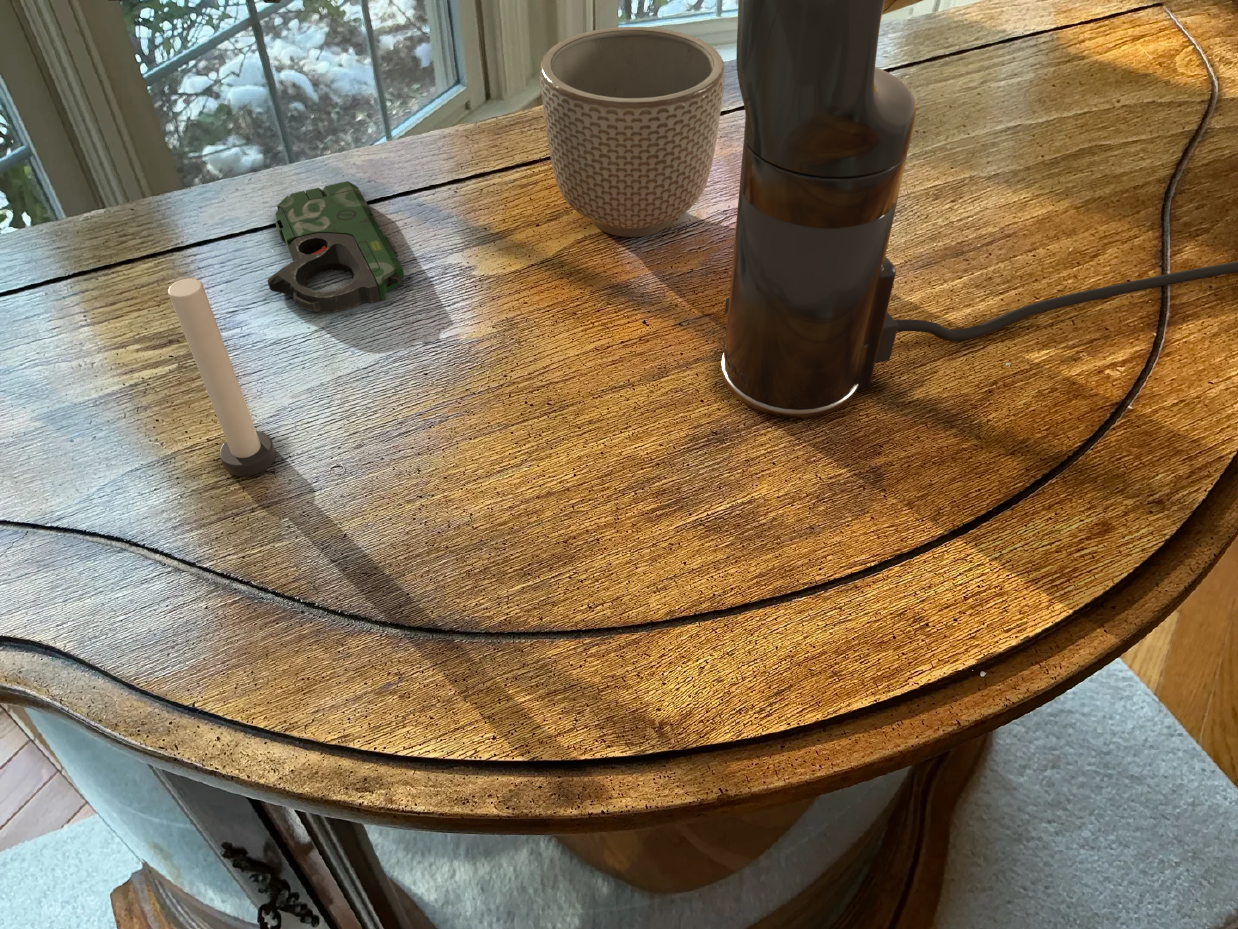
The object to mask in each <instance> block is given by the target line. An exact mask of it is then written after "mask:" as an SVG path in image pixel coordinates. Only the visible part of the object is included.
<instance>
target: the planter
mask: <svg viewBox="0 0 1238 929" xmlns="http://www.w3.org/2000/svg"><path fill="white" fill-rule="evenodd" d="M539 68H540V70H539V82H540V84H539V85H540V93H541V101H542V109H543V116H544V124H545V133H546V139H547V144H548V151H549V157H550V163H551V168H552V172H553V176H554V179H555V180H554V181H555V183H556V186H557V188H558V190H559V192H560V194H561V196H562V197H563V199H564V200H565V202H566V203H567V204H568V205H569V206H570V207H571V208H572V209H573V210H574V211H575V212H576V213H578V214H580V215H581V216H582V217H584V218H586V219H588V220H589V221H590V222H591V223H592V224H593V226H595V227H596V228H597V229H599V230H600V231H602V232H604V233H606V234H609V235H612V236H616V237H620V238H642V237H647V236H651V235H654V234H657V233H659V232H662V231H664V230H665V229H666V228H667V227H668V226H669V225H670V224H671V223H672V222H673V221H674V220H676V219H677V218H679V217H681V216H682V215H684V214H685V213H686V212H688V211H689V210H690V209H692V208H693V206H695V204H696V203H697V202H698V201H699V200H700V198H701V196H702V195H703V193H704V191H705V189H706V187H707V184H708V181H709V177H710V174H711V171H712V167H713V162H714V156H715V151H716V146H717V139H718V135H719V128H720V127H719V126H720V119H721V112H722V104H723V98H724V90H725V81H726V78H725V76H726V75H725V61H724V59H723V57H722V55H721V54H720V53H719V51H718V50H717V49H716V48H714V47H713V46H712V45H711V44H709V43H708V42H705V41H704V40H703V39H700V38H698V37H695V36H693V35H691V34H688V33H683V32H680V31H677V30H671V29H667V28H658V27H651V26H650V27H649V26H648V27H647V26H616V27H615V26H614V27H607V28H606V27H605V28H599V29H593V30H589V31H584V32H581V33H578V34H574V35H572V36H569V37H567V38H564V39H563V40H560V41H559V42H557V43H556V44H555V45H553V46H551V48H549V50H547V51H546V52H545V54H544V55H543V57H542V59H541V62H540V67H539Z"/></svg>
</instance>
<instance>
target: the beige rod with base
mask: <svg viewBox="0 0 1238 929" xmlns="http://www.w3.org/2000/svg"><path fill="white" fill-rule="evenodd" d="M167 295H168V296H169V299H170V302H171V304H172V306H173V309H174V311H175V314H176V317H177V319H178V322H179V324H180V328H181V330H182V332H183V335H184V337H185V341H186V342H187V345H188V347H189V350H190V352H191V354H192V358H193V360H194V362H195V365H196V367H197V371H198V372H199V375H200V378H201V380H202V383H203V385H204V388H205V390H206V392H207V395H208V398H209V400H210V402H211V405H212V408H213V410H214V413H215V415H216V418H217V420H218V423H219V426H220V428H221V430H222V433H223V436H224V438H225V441H224V442H223V443H222V445H221V446H220V450H219V459H220V461H221V463H222V466H223V468H224V469H225V471H226V472H227V473H229V474H230V475H232V476H235V477H244V478H245V477H251V476H256V475H258V474H260V473H263V472H264V471H266V470H267V469H269V468H270V467H271V465H273V463H274V462H275V459H276V455H277V454H276V453H277V452H276V449H275V446H274V444H273V440H272V438H271V437H270V436H269V435H268V434H267V433H264V432H262V431H260V430H259V431H258V430H256V428H255V424H254V422H253V419H252V416H251V414H250V410H249V408H248V405H247V402H246V401H245V397H244V394H243V392H242V389H241V386H240V384H239V381H238V378H237V375H236V372H235V368H234V367H233V364H232V362H231V359H230V356H229V352H228V350H227V347H226V345H225V342H224V339H223V337H222V334H221V331H220V328H219V325H218V322H217V320H216V317H215V315H214V312H213V310H212V306H211V304H210V301H209V298H208V295H207V293H206V290H205V287H204V284H203V283H202V281H200V280H199V279H196V278H182V279H180V280H177V281H175V282H174V283H172V284H171V285H170V286H169V287H168V290H167Z"/></svg>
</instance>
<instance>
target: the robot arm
mask: <svg viewBox="0 0 1238 929" xmlns="http://www.w3.org/2000/svg"><path fill="white" fill-rule="evenodd" d="M109 1H110V2H123V1H124V0H108V2H109ZM262 1H263V3H264V4H280V2H281V1H282V0H262ZM921 2H924V0H737V25H736V26H737V30H736V31H737V32H736V59H735V60H736V73H737V81H738V86H739V91H740V95H741V98H742V103H743V107H744V114H745V116H744V117H745V118H744V129H743V143H742V154H741V165H740V176H739V189H738V197H737V211H736V221H735V231H734V241H733V242H734V243H733V251H732V264H731V273H730V284H729V296H728V297H727V298H726V299H725V305H724V315H727V316H726V317H727V318H726V329H725V339H724V341H723V342H724V343H723V354H722V357H721V368H720V369H721V370H720V371H721V378H722V380H723V382H724V384H725V386H726V387H727V389H728V390H729V392H730V393H731V394H732V395H733V396H734V397H735V398H737V399H738V400H739V401H740V402H742V403H743V404H745V405H746V406H748V407H750V408H752V409H754V410H756V411H758V412H762V413H764V414H767V415H770V416H771V415H772V416H776V417H779V418H780V417H781V418H787V419H788V418H789V419H808V418H815V417H821V416H824V415H828V414H831V413H833V412H835V411H837V410H839V409H841V408H842V407H844V406H846V405H847V404H848V403H849V402H850V401H852V399H853V398H854V396H855V395H856V393H857V392H859V391H861V390H866V389H869V388H870V387H871V383H872V379H873V374H874V370H875V365H876V364H880V363H885V362H889V361H890V360H891V357H892V353H893V349H894V344H895V340H896V337H897V333H899V332H901V333H902V332H917V333H925V334H926V333H927V334H931V335H933V336H935V337H937V338H938V339H941V340H943V341H948V342H959V341H966V340H972V339H976V338H979V337H982V336H984V335H988V334H990V333H993V332H995V331H997V330H1000V329H1003V328H1005V327H1007V326H1009V325H1012V324H1013V323H1016V322H1019V321H1021V320H1023V319H1026V318H1030V317H1031V316H1034V315H1038V314H1042V313H1046V312H1049V311H1054V310H1058V309H1061V308H1064V307H1070V306H1074V305H1078V304H1083V303H1088V302H1093V301H1097V300H1103V299H1107V298H1112V297H1116V296H1121V295H1127V294H1131V293H1135V292H1136V293H1137V292H1140V291H1141V292H1142V291H1146V290H1150V289H1155V288H1161V287H1164V286H1170V285H1171V286H1172V285H1174V284H1175V285H1176V284H1181V283H1185V282H1191V281H1197V280H1202V279H1206V278H1212V277H1218V276H1219V277H1220V276H1224V275H1230V274H1235V273H1238V260H1237V261H1231V262H1226V263H1220V264H1214V265H1209V266H1204V267H1198V268H1193V269H1188V270H1187V269H1186V270H1181V271H1177V272H1172V273H1166V274H1161V275H1156V276H1152V277H1146V278H1141V279H1136V280H1131V281H1126V282H1121V283H1117V284H1112V285H1107V286H1103V287H1098V288H1092V289H1087V290H1083V291H1079V292H1073V293H1069V294H1065V295H1059V296H1057V297H1053V298H1052V297H1051V298H1048V299H1044V300H1040V301H1037V302H1034V303H1030V304H1027V305H1024V306H1021V307H1019V308H1016V309H1014V310H1011V311H1009V312H1006V313H1004V314H1002V315H999V316H997V317H995V318H993V319H989V320H988V321H986V322H982V323H979V324H977V325H974V326H969V327H964V328H956V329H955V328H953V329H949V328H947V327H945V326H943V325H942V324H939V323H937V322H934V321H929V320H922V319H895V318H893V316H891V314H890V313H889V312H888V309H889V305H890V300H891V296H892V291H893V287H894V283H895V280H896V279H895V278H896V274H897V270H896V266H895V265H894V263H893V262H892V261H891V260H890V259H889V257H887V256H886V255H887V250H888V246H889V242H890V237H891V231H892V228H893V223H894V218H895V214H896V209H897V205H898V200H899V195H900V189H901V186H902V181H903V175H904V171H905V168H906V164H907V163H906V162H907V159H908V153H909V149H910V145H911V142H912V136H913V132H914V127H915V122H916V116H917V115H916V114H917V105H916V100H915V96H914V94H913V92H912V91H911V90H910V88H909V87H908V85H907V84H906V83H905V82H904V81H903V80H901V79H900V78H899V77H896V76H895V75H893V74H892V73H890V72H888V71H886V70H884V69H882V68H879V67H877V66H876V62H877V54H878V53H877V52H878V43H879V36H880V30H881V29H880V28H881V23H882V22H881V21H882V16H884V15H887V14H890V13H892V12H895V11H898V10H901V9H904V8H907V7H909V6H913V5H916V4H918V3H921Z"/></svg>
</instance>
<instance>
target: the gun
mask: <svg viewBox="0 0 1238 929" xmlns="http://www.w3.org/2000/svg"><path fill="white" fill-rule="evenodd" d="M276 207H277V210H276V212H275V214H274V215H275V219H276V220H275V227H276V230H277V233H278V235H279V236H278V237H279V238H280V240H281V241H282V242H283V243H285V245H286V247H287V249H288V251H289V254H290V256H291V259H292V262H290V263H287V265H284V266H283V267H282V268H280V270H278V271H276V272H275V273H274V274H272V275H271V276H269V278H267V284H268V288H269V291H271V292H273V293H274V292H275V293H279V294H284V295H287V296H289V297H291V298H293V300H294V303H295V304H296V305H297V306H299V307H301V308H302V309H304V310H307V311H310V312H317V313H335V312H341V311H345V310H349V309H352V308H355V307H357V306H358V305H360V304H363V303H365V302H368V303H371V304H373V303H377V302H381V301H385V300H386V295H387V292H390V291H391V290H393V289H394V288H396V287H398V286H400V285H401V283H402V282H403V279H404V277H405V272H404V268H403V266H402V264H401V262H400V260H399V259H398V257H399V255H398V250H397V248H396V247H395V244H394V243H393V241H392V239H391V237H390V236H386V235H385V233H384V232H383V230H382V229H381V227H380V226H379V224H378V222H377V220H376V219H375V216H374V214H373V212H372V209H371V208H370V206H369V205H368V203H367V201H366V199H365V197H364V196H363V194H362V192H361V189H359V187H358V185H355V184H353V183H352V182H350V181H348V180H347V181H341V182H337V183H334V184H333V183H332V184H329V185H325V186H323V189H322V188H320V187H316V188H315V187H314V188H311V189H307V190H306V189H305V190H301V191H297V192H293V193H291V194H290V195H286V196H285V197H284V198H283V199H282V200H281V201H280V202H279V203H278V204H277V205H276ZM330 271H342V272H346V273H348V274H350V275H352V276H353V277H352V280H351V281H350V282H349V283H348V284H346V285H344V286H343V287H341V288H337V289H333V290H326V291H318V290H315V289H311V288H310V287H308V286H307V284H308V282H309V281H310V280H311V279H312V278H314V277H315V276H317V275H319V274H322V273H325V272H330Z"/></svg>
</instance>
